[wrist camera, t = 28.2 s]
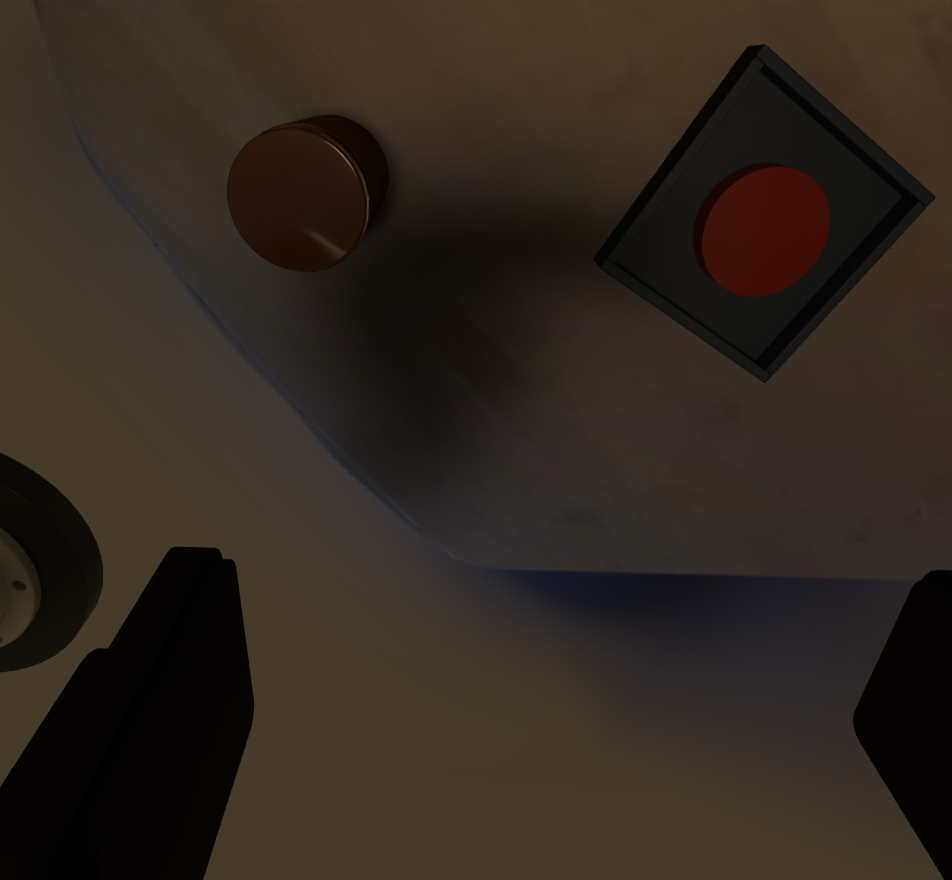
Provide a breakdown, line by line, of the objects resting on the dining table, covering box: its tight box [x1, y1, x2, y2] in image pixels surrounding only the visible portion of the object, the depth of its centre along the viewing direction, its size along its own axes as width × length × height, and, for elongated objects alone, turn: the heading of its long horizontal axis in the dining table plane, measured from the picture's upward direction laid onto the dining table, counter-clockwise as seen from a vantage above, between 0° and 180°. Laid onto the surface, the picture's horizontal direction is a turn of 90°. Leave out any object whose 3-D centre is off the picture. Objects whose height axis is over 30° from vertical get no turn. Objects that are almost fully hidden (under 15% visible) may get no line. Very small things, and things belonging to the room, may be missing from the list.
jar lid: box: [693, 163, 830, 297], centre depth 35 cm, size 7×6×2 cm
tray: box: [593, 44, 935, 383], centre depth 36 cm, size 12×12×2 cm
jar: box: [227, 115, 389, 272], centre depth 31 cm, size 6×6×9 cm
